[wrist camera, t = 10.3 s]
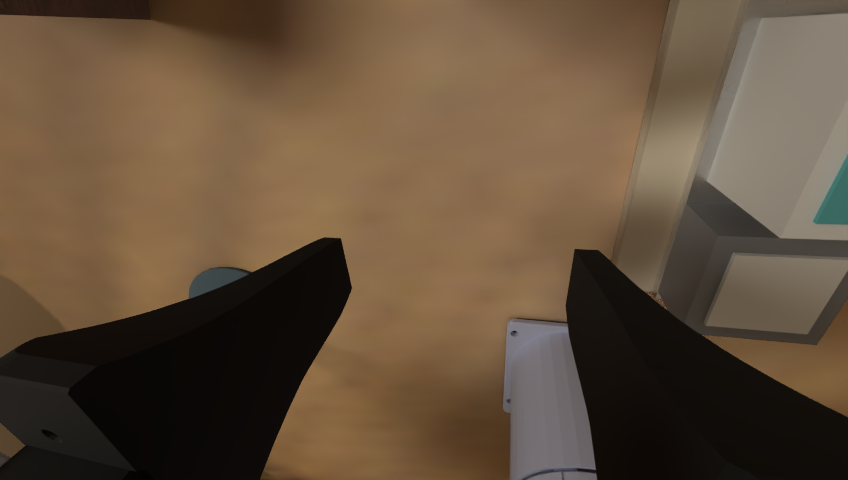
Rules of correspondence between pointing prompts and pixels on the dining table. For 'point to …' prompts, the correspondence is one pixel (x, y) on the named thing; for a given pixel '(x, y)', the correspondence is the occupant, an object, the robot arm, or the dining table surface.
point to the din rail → (731, 101)
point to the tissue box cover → (78, 8)
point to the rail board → (671, 130)
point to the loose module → (791, 129)
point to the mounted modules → (752, 278)
